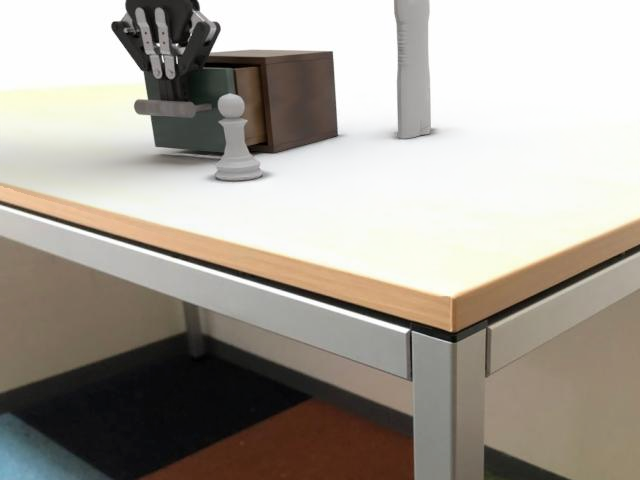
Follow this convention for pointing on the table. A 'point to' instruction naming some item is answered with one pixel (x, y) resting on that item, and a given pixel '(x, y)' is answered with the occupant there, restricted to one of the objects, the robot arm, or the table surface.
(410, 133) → the tall pale column
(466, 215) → the table surface
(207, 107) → the drawer
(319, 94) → the cabinet
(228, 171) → the chess piece
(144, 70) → the robot arm
